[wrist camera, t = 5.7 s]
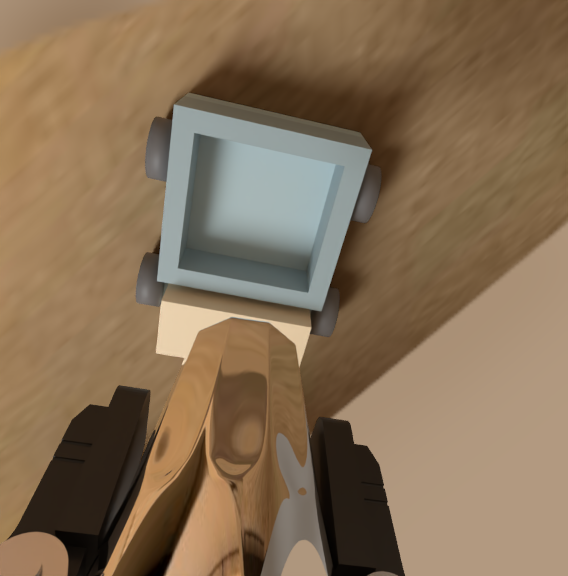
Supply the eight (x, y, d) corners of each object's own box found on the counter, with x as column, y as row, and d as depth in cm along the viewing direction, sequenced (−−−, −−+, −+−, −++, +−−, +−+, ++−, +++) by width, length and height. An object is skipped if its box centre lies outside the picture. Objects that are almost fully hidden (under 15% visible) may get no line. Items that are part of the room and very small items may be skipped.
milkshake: (107, 344, 13) (-264, 1003, 4) (278, 267, 12) (256, 967, 3) (193, 446, 15) (64, 1037, 6) (347, 390, 14) (455, 1023, 5)
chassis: (319, 333, 31) (325, 381, 27) (146, 302, 30) (124, 348, 25) (381, 137, 24) (401, 161, 20) (164, 86, 23) (139, 101, 19)
